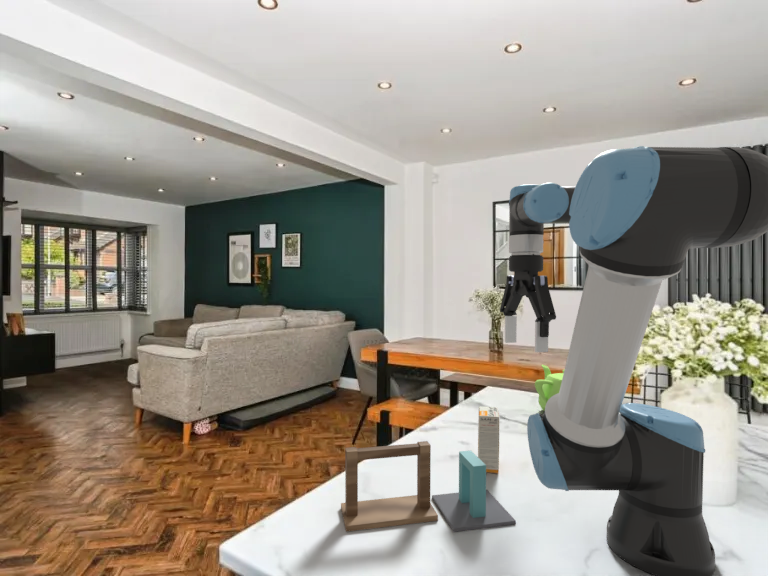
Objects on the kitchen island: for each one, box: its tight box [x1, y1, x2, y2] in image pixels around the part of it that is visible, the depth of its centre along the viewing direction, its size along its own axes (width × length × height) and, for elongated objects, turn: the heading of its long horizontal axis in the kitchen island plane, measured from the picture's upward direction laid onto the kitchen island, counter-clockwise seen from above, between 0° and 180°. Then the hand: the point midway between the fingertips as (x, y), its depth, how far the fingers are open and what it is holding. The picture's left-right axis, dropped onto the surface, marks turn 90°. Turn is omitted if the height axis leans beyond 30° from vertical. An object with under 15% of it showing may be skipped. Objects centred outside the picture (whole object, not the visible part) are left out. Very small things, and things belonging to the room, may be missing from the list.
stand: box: [340, 440, 439, 533], centre depth 84 cm, size 8×17×13 cm, turn 102°
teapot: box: [534, 364, 565, 412], centre depth 145 cm, size 19×20×14 cm
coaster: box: [431, 488, 517, 533], centre depth 85 cm, size 12×12×1 cm
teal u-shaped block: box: [458, 450, 487, 518], centre depth 85 cm, size 7×2×10 cm, turn 12°
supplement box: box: [477, 406, 500, 474], centre depth 105 cm, size 8×5×13 cm, turn 168°
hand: (524, 347), depth 102 cm, fingers open, 13 cm apart
